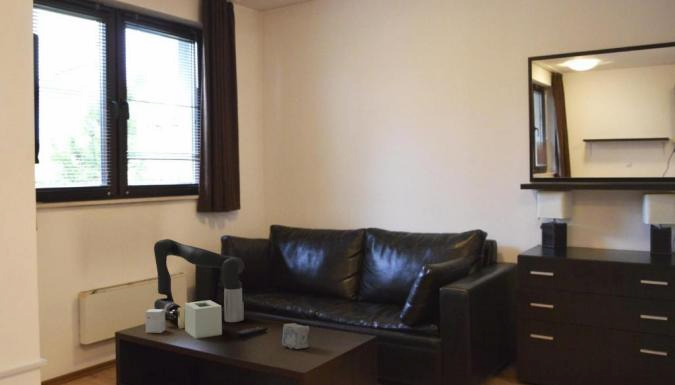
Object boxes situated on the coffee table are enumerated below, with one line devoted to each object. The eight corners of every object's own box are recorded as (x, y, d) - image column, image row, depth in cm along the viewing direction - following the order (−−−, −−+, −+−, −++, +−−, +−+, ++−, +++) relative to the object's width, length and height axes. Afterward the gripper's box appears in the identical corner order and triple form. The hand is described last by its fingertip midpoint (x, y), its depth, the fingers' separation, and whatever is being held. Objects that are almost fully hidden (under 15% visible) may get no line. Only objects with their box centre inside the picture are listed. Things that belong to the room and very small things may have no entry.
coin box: (210, 327, 305) (210, 300, 305) (221, 334, 291) (221, 306, 291) (185, 331, 298) (184, 303, 298) (195, 338, 285) (195, 309, 284)
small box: (165, 330, 301) (165, 309, 301) (161, 333, 295) (160, 311, 295) (150, 329, 302) (149, 308, 301) (145, 332, 296) (145, 311, 296)
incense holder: (309, 347, 270) (309, 324, 269) (297, 351, 263) (297, 328, 263) (293, 343, 276) (293, 321, 276) (281, 347, 269) (281, 324, 269)
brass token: (182, 326, 307) (182, 307, 307) (184, 327, 305) (184, 308, 304) (178, 327, 306) (177, 307, 306) (179, 328, 303) (179, 308, 303)
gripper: (159, 304, 314) (167, 310, 300) (186, 301, 321) (195, 307, 307) (159, 319, 314) (168, 325, 300) (186, 315, 322) (196, 321, 308)
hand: (182, 316), depth 304 cm, fingers open, 8 cm apart
